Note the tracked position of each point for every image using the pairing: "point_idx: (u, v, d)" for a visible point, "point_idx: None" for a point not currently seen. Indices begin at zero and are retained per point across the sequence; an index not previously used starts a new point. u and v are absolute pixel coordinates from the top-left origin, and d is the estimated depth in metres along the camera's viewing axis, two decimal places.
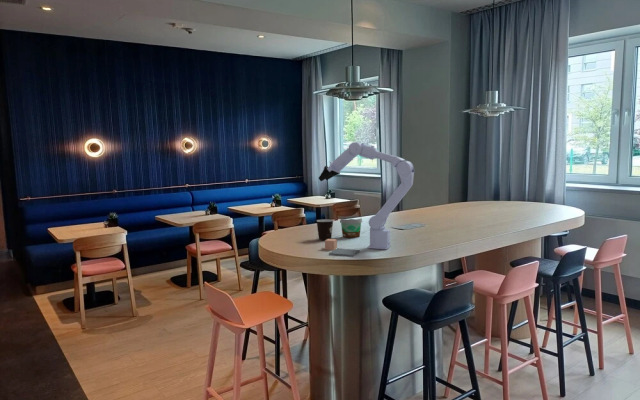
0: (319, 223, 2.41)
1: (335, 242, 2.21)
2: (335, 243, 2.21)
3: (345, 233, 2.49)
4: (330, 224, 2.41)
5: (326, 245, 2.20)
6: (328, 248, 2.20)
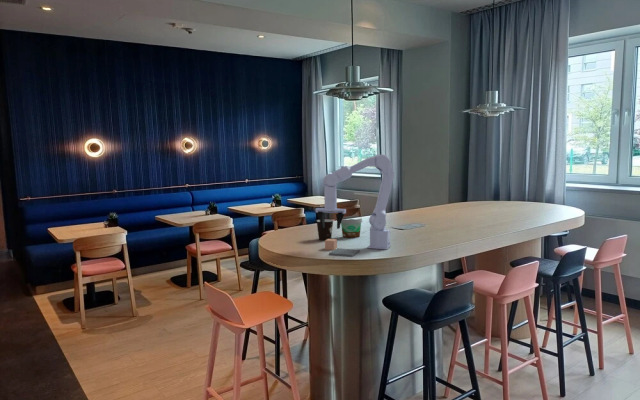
0: (319, 223, 2.41)
1: (335, 242, 2.21)
2: (335, 243, 2.21)
3: (345, 233, 2.49)
4: (330, 224, 2.41)
5: (326, 245, 2.20)
6: (328, 248, 2.20)
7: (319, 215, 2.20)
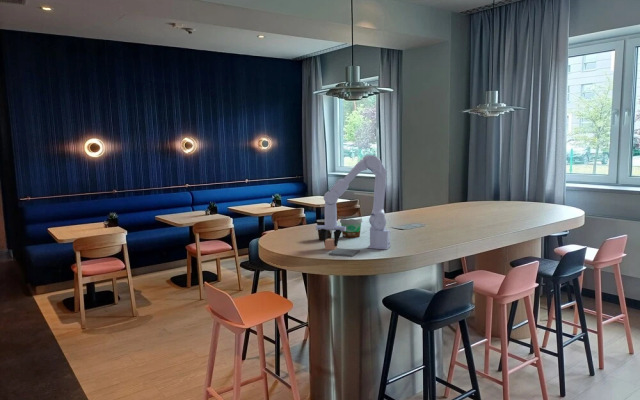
0: (319, 223, 2.41)
1: None
2: None
3: (345, 233, 2.49)
4: None
5: (326, 244, 2.20)
6: (328, 248, 2.20)
7: (322, 233, 2.20)
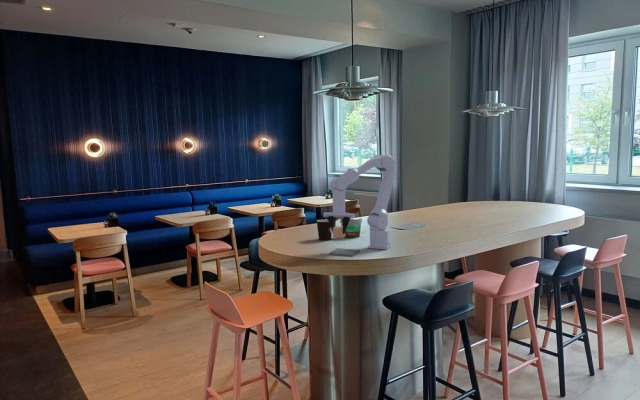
0: (319, 223, 2.41)
1: None
2: None
3: (345, 233, 2.49)
4: None
5: (334, 232, 2.13)
6: (336, 235, 2.13)
7: (330, 220, 2.13)
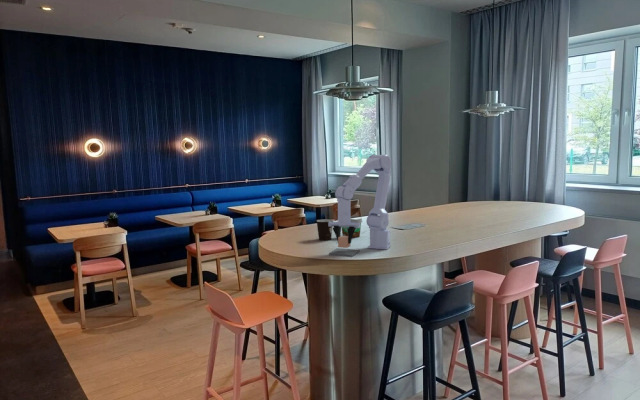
0: (319, 223, 2.41)
1: None
2: None
3: (345, 233, 2.49)
4: None
5: (339, 242, 2.10)
6: (341, 245, 2.10)
7: (335, 229, 2.10)
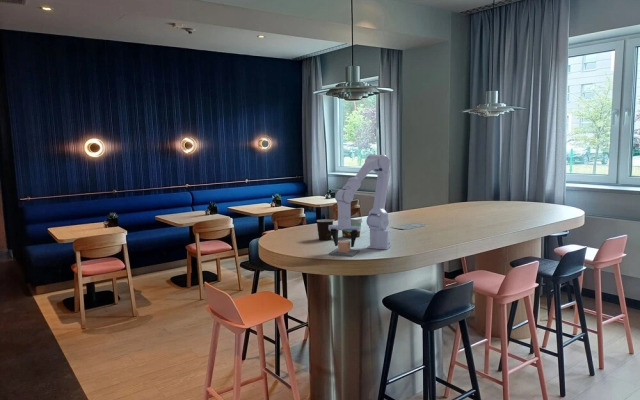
0: (319, 223, 2.41)
1: (349, 244, 2.11)
2: (349, 245, 2.11)
3: (345, 233, 2.49)
4: (330, 224, 2.41)
5: (339, 247, 2.10)
6: (341, 250, 2.10)
7: (332, 233, 2.11)
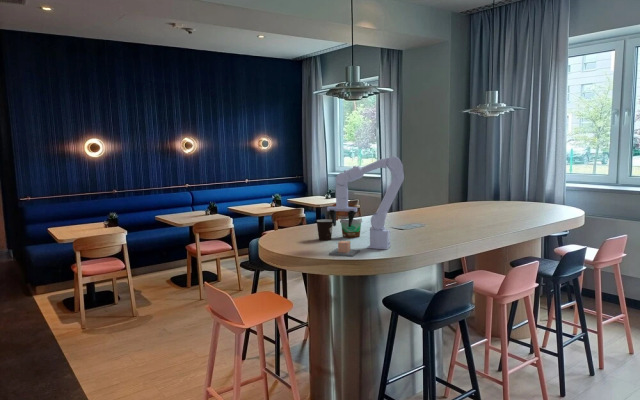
0: (319, 223, 2.41)
1: (349, 244, 2.11)
2: (349, 245, 2.11)
3: (345, 233, 2.49)
4: (330, 224, 2.41)
5: (339, 247, 2.10)
6: (341, 250, 2.10)
7: (331, 213, 2.23)
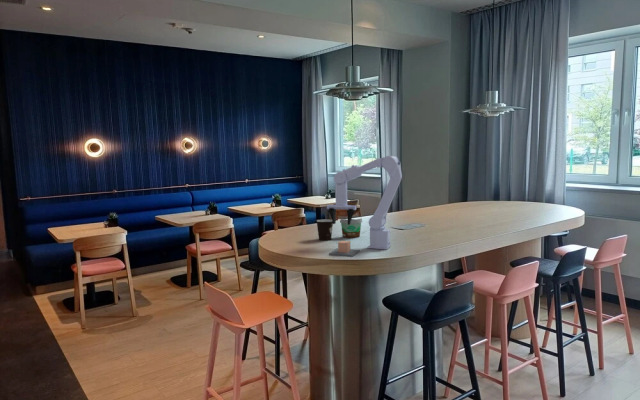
0: (319, 223, 2.41)
1: (349, 244, 2.11)
2: (349, 245, 2.11)
3: (345, 233, 2.49)
4: (330, 224, 2.41)
5: (339, 247, 2.10)
6: (341, 250, 2.10)
7: (330, 211, 2.28)
